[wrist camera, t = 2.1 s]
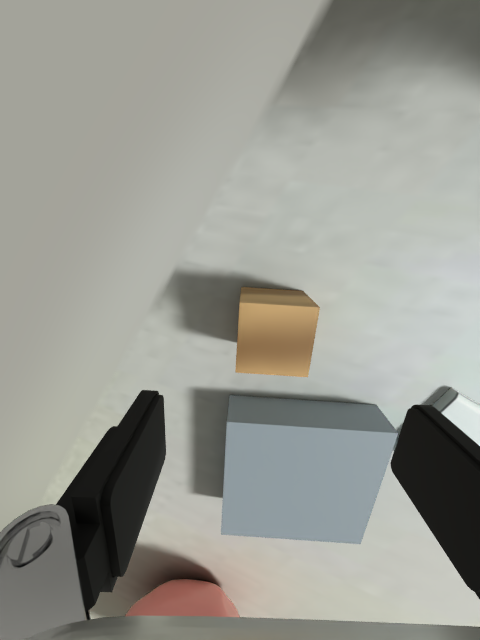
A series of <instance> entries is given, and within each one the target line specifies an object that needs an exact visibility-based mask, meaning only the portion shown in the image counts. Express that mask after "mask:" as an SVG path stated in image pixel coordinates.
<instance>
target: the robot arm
mask: <svg viewBox="0 0 480 640" xmlns="http://www.w3.org/2000/svg"><path fill="white" fill-rule="evenodd" d="M165 455H166V441H165V419H164V398H163V395H159V393H158V391H149V390H142V391H141V392H140V393H139V395H138V396H137V398H136V399H135V401H134V402H133V404H132V405H131V407H130V408H129V410H128V411H127V413H126V414H125V416H124V417H123V419H122V420H121V422H120V423H119V425H118V426H117V427H115V426H113V427H111V428H110V429H109V430H108V431H107V433H106V434H105V436H104V437H103V438H102V440H101V441H100V443H99V444H98V445H97V447H96V448H95V450H94V451H93V453H92V454H91V455H90V457H89V458H88V460H87V461H86V463H85V464H84V465H83V467H82V468H81V470H80V471H79V473H78V474H77V475H76V477H75V478H74V480H73V481H72V483H71V484H70V485H69V487H68V488H67V490H66V491H65V492H64V494H63V495H62V497H61V498H60V500H59V501H58V502H57V504H56V505H53V504H50V505H44V506H39V507H37V508H34V509H32V510H29V511H27V512H26V513H24V514H22V515H21V516H19V517H17V518H16V519H15V520H13V521H12V522H11V523H10V524H8V525H7V526H6V527H5V528H4V529H3V530H2V531H1V532H0V640H480V627H472V626H451V625H428V624H404V623H380V622H355V621H330V620H303V619H273V618H244V617H215V616H122V617H105V618H97V619H91V617H90V611H89V610H90V609H91V608H92V607H93V606H94V605H95V603H96V601H97V598H98V596H99V593H100V592H112V590H113V588H114V585H115V582H116V579H117V577H118V576H119V577H122V576H123V575H124V574H125V572H126V569H127V567H128V564H129V561H130V558H131V555H132V552H133V549H134V547H135V544H136V541H137V538H138V535H139V532H140V529H141V527H142V524H143V521H144V518H145V515H146V512H147V509H148V506H149V504H150V501H151V498H152V495H153V492H154V489H155V486H156V484H157V481H158V478H159V475H160V472H161V469H162V466H163V464H164V460H165ZM391 469H392V471H393V473H394V475H395V476H396V478H397V479H398V481H399V483H400V484H401V486H402V487H403V489H404V490H405V492H406V493H407V495H408V496H409V498H410V499H411V501H412V502H413V504H414V505H415V507H416V509H417V510H418V512H419V513H420V515H421V516H422V518H423V519H424V521H425V522H426V524H427V525H428V527H429V528H430V530H431V531H432V533H433V535H434V536H435V538H436V539H437V541H438V542H439V544H440V545H441V547H442V548H443V550H444V551H445V553H446V554H447V556H448V557H449V559H450V561H451V562H452V564H453V565H454V567H455V568H456V570H457V571H458V573H459V574H460V576H461V577H462V579H463V580H464V582H465V583H466V585H467V586H468V587H469V588H470V589H471V590H473V591H474V592H475V593H476V594H477V596H478V597H479V599H480V446H479V445H478V444H477V443H476V442H474V441H473V440H472V439H471V438H470V437H469V436H467V435H466V434H465V433H464V432H463V431H462V430H461V429H459V428H458V427H457V426H456V425H455V424H454V423H452V422H451V421H450V420H449V419H448V418H447V417H445V416H444V415H443V414H442V413H441V412H440V411H438V410H437V409H436V408H435V407H433V406H430V405H413V406H412V407H411V408H410V409H409V410H408V411H407V414H406V417H405V420H404V423H403V426H402V429H401V432H400V435H399V438H398V442H397V445H396V448H395V451H394V454H393V457H392V460H391Z"/></svg>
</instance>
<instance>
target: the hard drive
mask: <svg viewBox="0 0 480 640" xmlns="http://www.w3.org/2000/svg"><path fill="white" fill-rule="evenodd" d="M432 406H433V407H435V408H436V409H437V410H438V411H440V412H441V413H442V414H443V415H444V416H445V417H447V418H448V419H449V420H450V421H451V422H452V423H454V424H455V425H456V426H457V427H458V428H459V429H461V430H462V431H463V432H464V433H465V434H466V435H467V436H469V437H470V438H471V439H472V440H473V441H474V442H476V443H477V444H478V445H479V446H480V404H479V403H477V402H475V401H474V400H472V399H470V398H469V397H467V396H465V395H464V394H462V393H460V392H459V391H457V390H455V389H454V388H452V387H451V388H450V389H449V390H448V391H447V392H446V393H445V394H444V395H443V396H442V397H441V398H440V399H438V400H437V401H436V402H435V403H434V404H433V405H432ZM397 442H398V439H397V440H396V442H395V445H394V447H393V450H394V451H395V448H396V445H397Z"/></svg>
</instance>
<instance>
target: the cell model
mask: <svg viewBox="0 0 480 640" xmlns="http://www.w3.org/2000/svg"><path fill="white" fill-rule="evenodd" d="M125 616H215V617H240V616H239V614H238V611H237V609H236V608H235V606H234V604H233V603H232V601H231V600H230V599H229V598H228V597H227V595H226V594H225V593H224V591H223V590H222V589H221V588H220V587H219V586H218V585H216V584H214V583H211V582H208V581H201V580H193V579H178V580H171V581H168V582H166V583H163V584H161V585H159V586H158V587H157V588H155V589H154V590H152V591H151V592H149V593H148V594H147V595H145V596H144V597H142V598H141V599H139V600H138V601H136V602H135V603H134V604H133V605H132V607H131V608H130V609H129V610H128V612H127V614H126V615H125Z"/></svg>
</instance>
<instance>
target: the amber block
mask: <svg viewBox="0 0 480 640" xmlns="http://www.w3.org/2000/svg"><path fill="white" fill-rule="evenodd" d="M319 309H320V307H319V306H318V305H317V304H316V303H315V302H314V301H313V300H312V299H311V298H310V297H309V296H308V295H306V294H305V293H304V292H303V291H298V290H282V289H266V288H250V287H241V295H240V305H239V322H238V339H237V356H236V372H237V373H252V374H267V375H283V376H298V377H308V373H309V367H310V362H311V356H312V350H313V344H314V338H315V332H316V327H317V321H318V315H319Z"/></svg>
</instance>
